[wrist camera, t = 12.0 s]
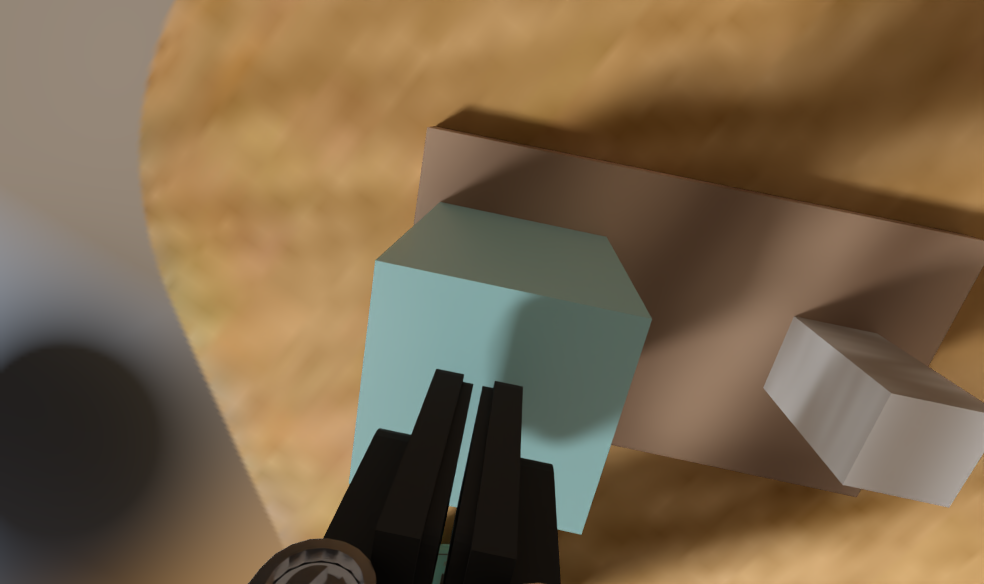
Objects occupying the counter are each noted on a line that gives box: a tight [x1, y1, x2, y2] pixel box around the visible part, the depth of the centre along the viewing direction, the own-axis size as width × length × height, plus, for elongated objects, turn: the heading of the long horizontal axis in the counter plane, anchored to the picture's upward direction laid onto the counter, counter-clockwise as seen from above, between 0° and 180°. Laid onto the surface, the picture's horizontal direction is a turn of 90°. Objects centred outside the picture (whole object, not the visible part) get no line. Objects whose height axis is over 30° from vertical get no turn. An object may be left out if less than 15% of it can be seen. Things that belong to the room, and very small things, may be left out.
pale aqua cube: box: [349, 202, 652, 534], centre depth 14 cm, size 6×6×7 cm
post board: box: [414, 126, 984, 507], centre depth 16 cm, size 18×10×6 cm, turn 79°
